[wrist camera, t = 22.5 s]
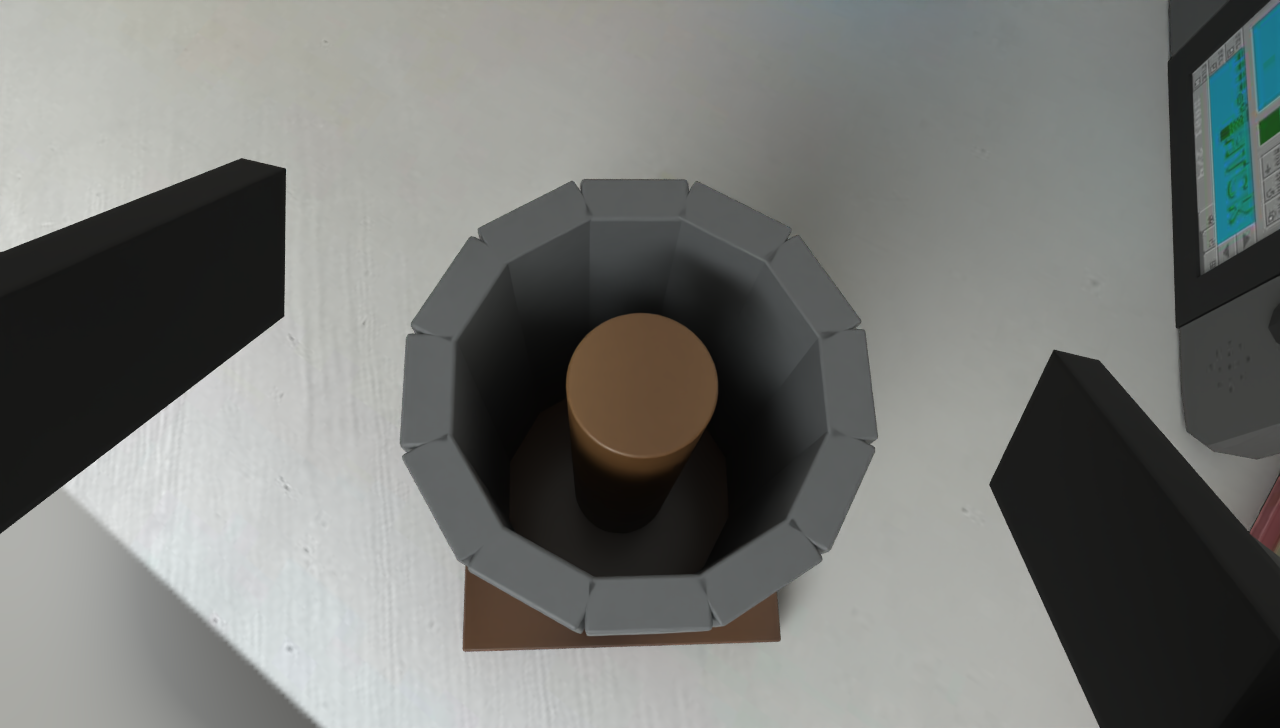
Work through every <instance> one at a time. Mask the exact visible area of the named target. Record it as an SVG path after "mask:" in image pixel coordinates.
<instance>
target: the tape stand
mask: <svg viewBox="0 0 1280 728" xmlns="http://www.w3.org/2000/svg"><path fill="white" fill-rule="evenodd" d="M566 394H567V397H566V398H565V399H563V400H561V401H559V402H558V403H556V404H554V405H552V406H551V407H549V408H547V409H545V410H544V411H542V412H540V413H539V415H538V416H537V418H536V420H535V421H534V423H533V424H532V426H531V428H530V429H529V431H528V433H527V434H526V436H525V438H524V439H523V441H522V443H521V444H520V446H519V448H518V449H517V451H516V453H515V454H514V456H513V458H512V459H511V461H510V497H509V521H510V523H511V525H512V527H513V528H514V530H515V532H516V533H517V534H519V535H521V536H523V537H524V538H526V539H528V540H530V541H531V542H533V543H535V544H537V545H539V546H540V547H542V548H544V549H546V550H548V551H549V552H551V553H553V554H555V555H556V556H558V557H560V558H562V559H564V560H565V561H567V562H569V563H571V564H572V565H574V566H576V567H578V568H580V569H581V570H583V571H585V572H587V573H588V574H590V575H592V576H594V577H608V576H645V575H681V574H695V573H697V572H698V571H700V570H701V569H703V568H704V566H705V564H706V562H707V560H708V558H709V556H710V554H711V552H712V550H713V548H714V546H715V544H716V542H717V540H718V538H719V536H720V534H721V532H722V530H723V528H724V526H725V524H726V522H727V520H728V518H729V501H728V486H727V470H726V458H725V456H724V455H723V453H722V451H721V450H720V448H719V447H718V445H717V444H716V442H715V441H714V439H713V438H712V436H711V435H710V433H709V431H708V430H707V428H706V427H707V425H708V423H709V422H710V420H711V418H712V415H713V413H714V410H715V407H716V403H717V398H718V377H717V371H716V368H715V364H714V362H713V359H712V357H711V355H710V353H709V351H708V350H707V348H706V346H705V345H704V344H703V343H702V341H701V340H700V339H699V338H698V337H697V336H696V335H695V334H694V333H693V332H692V331H691V330H689V329H688V328H687V327H685V326H684V325H682V324H680V323H679V322H677V321H675V320H672V319H670V318H668V317H664V316H661V315H657V314H651V313H630V314H625V315H620V316H617V317H614V318H611V319H609V320H607V321H605V322H603V323H601V324H600V325H598V326H597V327H595V328H594V329H593V330H592V331H590V332H589V333H588V334H587V335H586V336H585V337H584V338H583V339H582V340H581V342H580V343H579V345H578V346H577V348H576V349H575V351H574V353H573V355H572V357H571V360H570V363H569V366H568V370H567V375H566ZM780 640H781V636H780V623H779V610H778V597H777V591H776V592H775V593H773V594H772V595H770V596H769V597H767V598H766V599H764V600H763V601H761V602H760V603H758V604H757V605H755V606H754V607H752V608H751V609H749V610H748V611H746V612H745V613H743V614H742V615H740V616H739V617H737V618H736V619H734V620H733V621H731V622H730V623H728V624H727V625H725V626H721V627H712V629H711V630H709V631H699V632H682V633H664V634H639V635H608V636H587V634H586V632H585V629H584V631H583V632H582V633H581V634H580V633H577V632H575V631H572V630H571V629H569V628H567V627H565V626H564V625H562V624H560V623H558V622H557V621H555V620H553V619H551V618H550V617H548V616H546V615H544V614H542V613H541V612H539V611H537V610H535V609H534V608H532V607H530V606H528V605H527V604H525V603H523V602H521V601H520V600H518V599H516V598H514V597H513V596H511V595H509V594H507V593H506V592H504V591H502V590H500V589H499V588H497V587H495V586H493V585H492V584H490V583H488V582H486V581H485V580H483V579H481V578H479V577H478V576H476V575H474V574H472V573H471V572H470V571H469V570H468V566H466V565H465V592H464V622H463V651H465V652H472V651H504V650H535V649H566V648H597V647H628V646H660V645H691V644H722V643H753V642H779V641H780Z"/></svg>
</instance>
